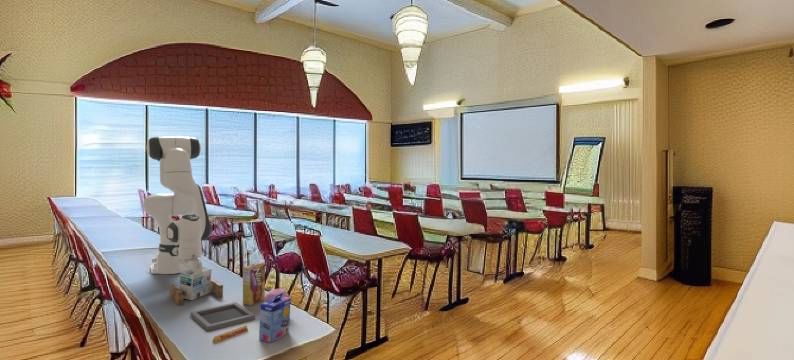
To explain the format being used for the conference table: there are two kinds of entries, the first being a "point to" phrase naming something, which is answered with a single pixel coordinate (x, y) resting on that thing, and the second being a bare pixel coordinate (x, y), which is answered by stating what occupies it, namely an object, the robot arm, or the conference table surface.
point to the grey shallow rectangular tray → (222, 316)
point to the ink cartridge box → (274, 318)
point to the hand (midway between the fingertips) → (189, 284)
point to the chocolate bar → (230, 334)
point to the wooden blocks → (178, 294)
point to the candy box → (253, 283)
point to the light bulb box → (195, 283)
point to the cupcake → (275, 294)
